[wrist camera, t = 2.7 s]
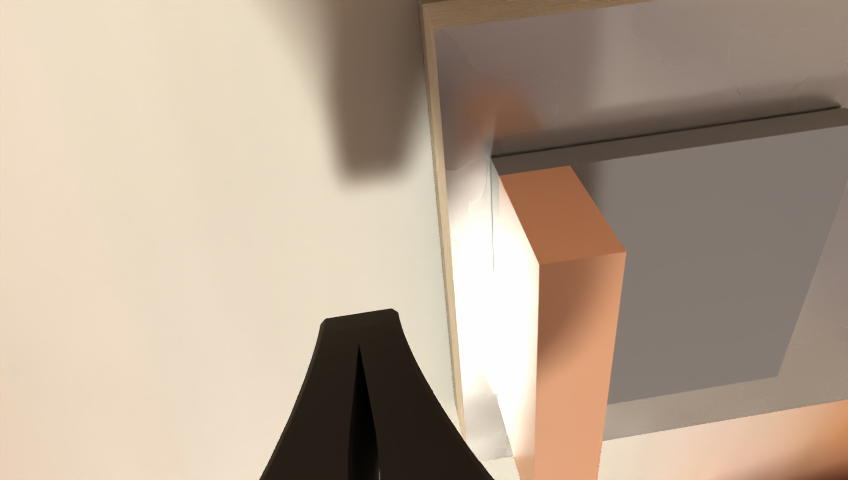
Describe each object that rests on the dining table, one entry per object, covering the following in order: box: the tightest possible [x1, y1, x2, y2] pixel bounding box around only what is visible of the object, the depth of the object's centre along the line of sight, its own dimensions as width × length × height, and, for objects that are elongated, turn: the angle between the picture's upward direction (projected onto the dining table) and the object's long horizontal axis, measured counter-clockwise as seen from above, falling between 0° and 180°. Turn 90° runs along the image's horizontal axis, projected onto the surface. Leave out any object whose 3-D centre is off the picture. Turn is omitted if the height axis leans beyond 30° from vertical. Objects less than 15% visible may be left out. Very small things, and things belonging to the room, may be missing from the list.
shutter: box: [491, 108, 848, 480], centre depth 12 cm, size 6×6×3 cm
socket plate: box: [418, 0, 848, 462], centre depth 14 cm, size 12×11×2 cm
